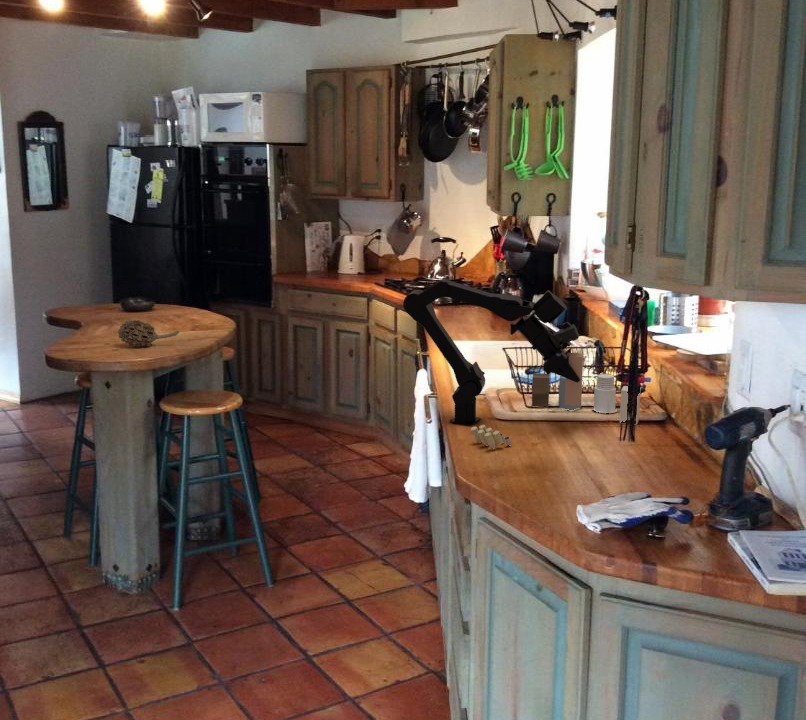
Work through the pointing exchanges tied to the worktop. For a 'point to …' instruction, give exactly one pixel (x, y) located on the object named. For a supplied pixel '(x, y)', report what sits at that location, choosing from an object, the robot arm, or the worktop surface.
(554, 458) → the worktop surface
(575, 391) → the terracotta block
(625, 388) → the cream block
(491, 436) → the ammunition
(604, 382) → the downlight
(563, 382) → the slate blue block
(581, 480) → the worktop surface
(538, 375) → the walnut block
